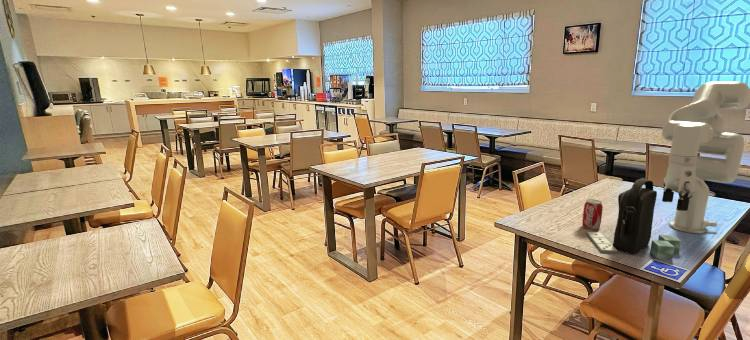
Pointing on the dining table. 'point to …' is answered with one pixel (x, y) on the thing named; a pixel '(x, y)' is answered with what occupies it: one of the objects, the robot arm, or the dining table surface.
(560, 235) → the dining table surface
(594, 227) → the soda can
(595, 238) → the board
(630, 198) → the shoulder bag
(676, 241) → the pale green cube
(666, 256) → the sage green cube
